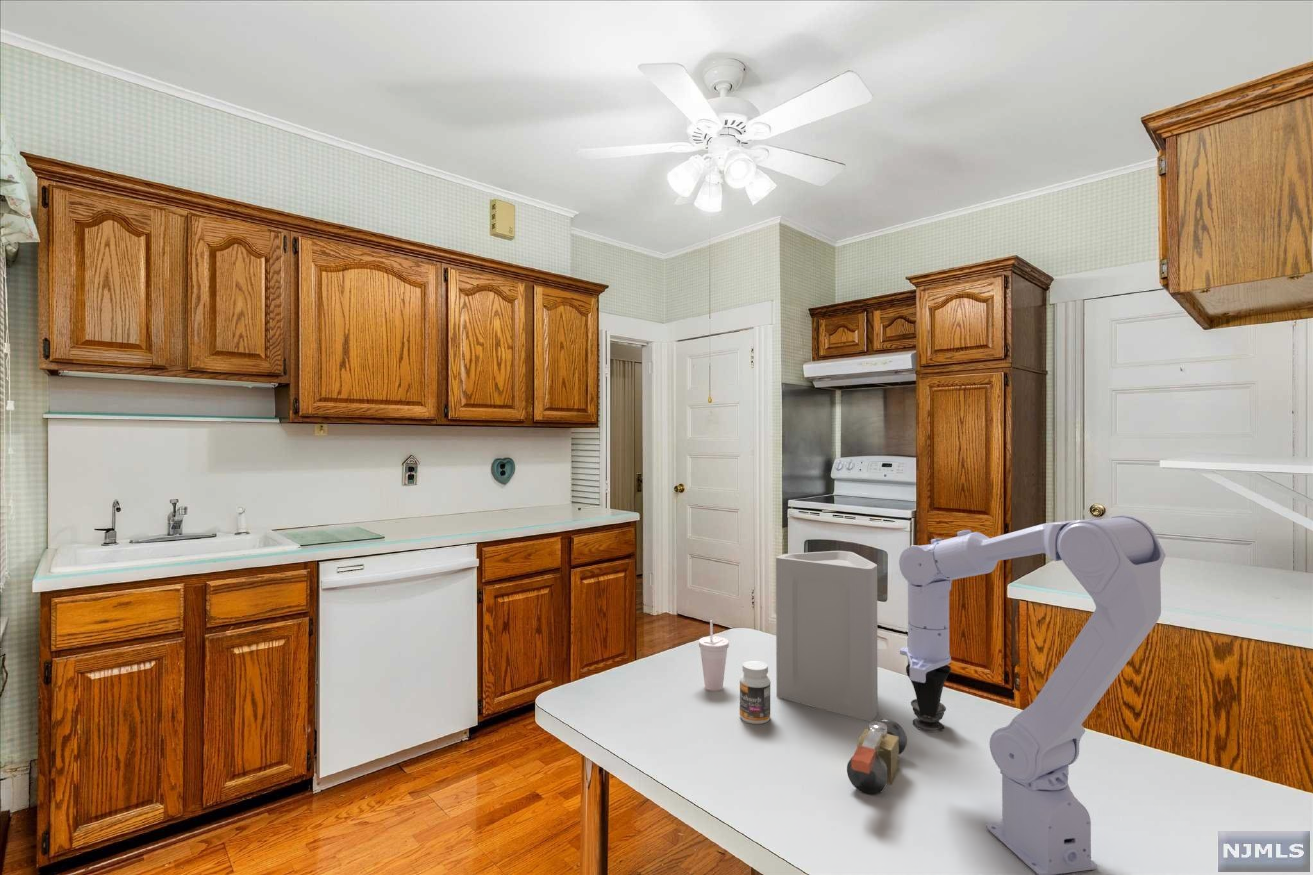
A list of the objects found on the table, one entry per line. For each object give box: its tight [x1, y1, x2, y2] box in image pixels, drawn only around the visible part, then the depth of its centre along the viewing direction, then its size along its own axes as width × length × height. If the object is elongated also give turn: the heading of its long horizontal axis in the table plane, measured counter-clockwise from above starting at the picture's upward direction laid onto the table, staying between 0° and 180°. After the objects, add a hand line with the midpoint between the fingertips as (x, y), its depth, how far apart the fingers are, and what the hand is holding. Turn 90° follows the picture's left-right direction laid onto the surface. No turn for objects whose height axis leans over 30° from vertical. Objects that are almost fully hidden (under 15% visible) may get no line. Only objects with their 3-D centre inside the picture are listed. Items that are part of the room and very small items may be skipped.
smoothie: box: [698, 619, 730, 692], centre depth 129 cm, size 6×6×14 cm
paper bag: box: [775, 550, 879, 722], centre depth 124 cm, size 19×15×28 cm
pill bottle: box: [739, 660, 771, 725], centre depth 114 cm, size 6×6×10 cm
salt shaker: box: [910, 698, 947, 733], centre depth 111 cm, size 6×6×12 cm
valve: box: [846, 718, 908, 796], centre depth 96 cm, size 14×6×6 cm, turn 146°
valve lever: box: [851, 721, 887, 774], centre depth 91 cm, size 14×3×1 cm, turn 149°
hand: (928, 714), depth 93 cm, fingers closed
